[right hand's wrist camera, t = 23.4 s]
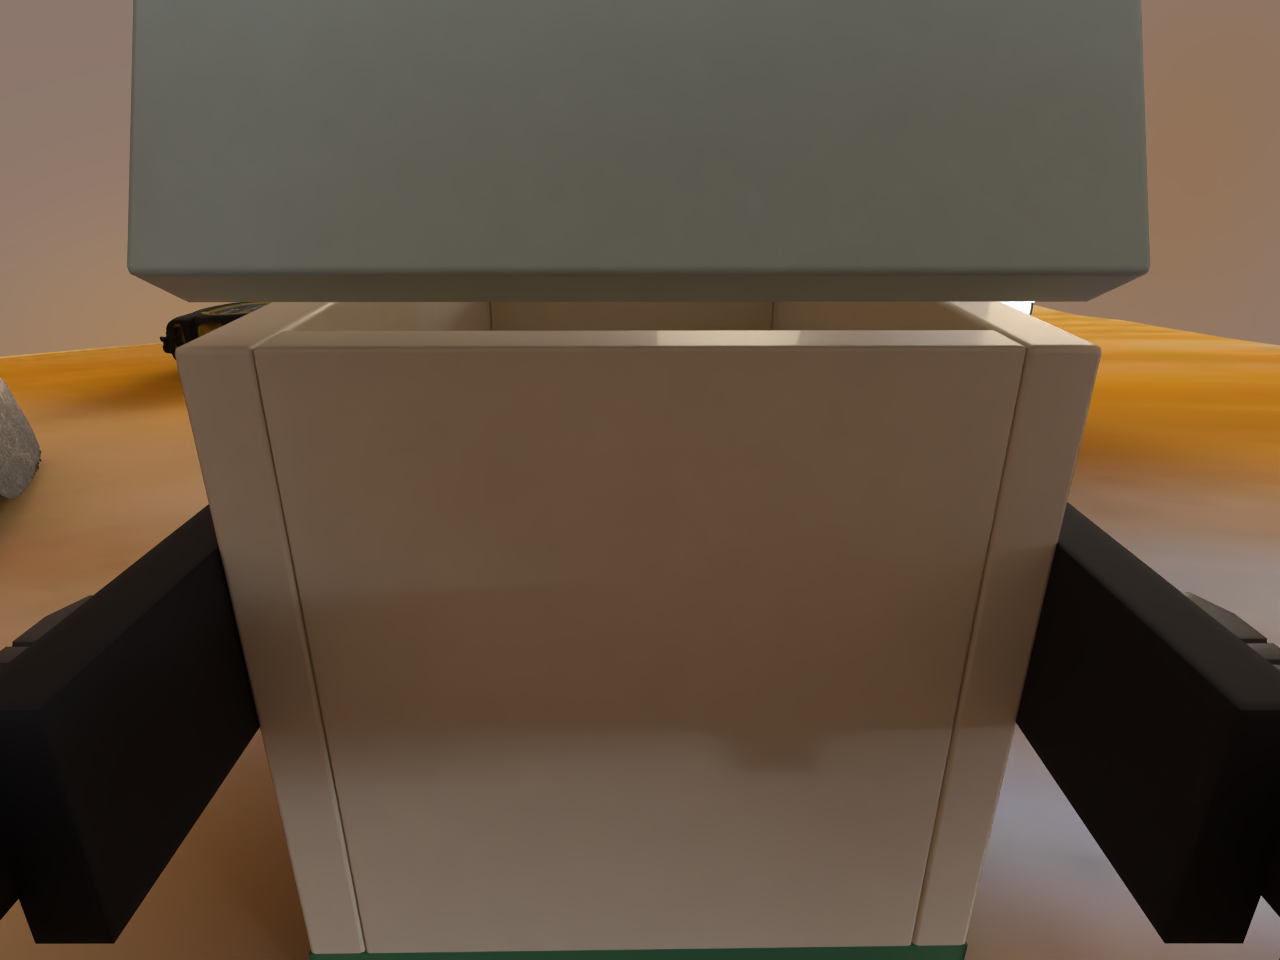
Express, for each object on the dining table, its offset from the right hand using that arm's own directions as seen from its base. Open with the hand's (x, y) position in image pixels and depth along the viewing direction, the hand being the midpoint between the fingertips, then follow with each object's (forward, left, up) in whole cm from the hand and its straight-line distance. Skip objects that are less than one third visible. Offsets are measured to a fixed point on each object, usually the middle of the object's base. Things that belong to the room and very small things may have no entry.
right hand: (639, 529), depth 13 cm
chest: (+5, +2, -6) cm, 8 cm away
